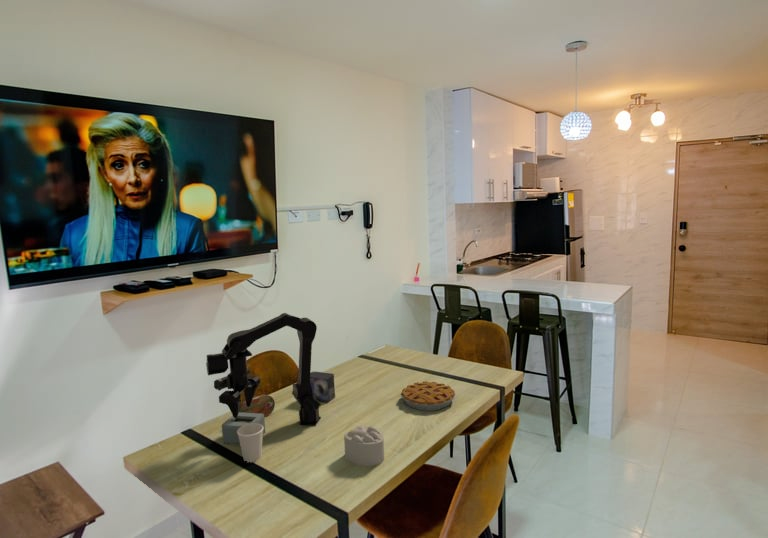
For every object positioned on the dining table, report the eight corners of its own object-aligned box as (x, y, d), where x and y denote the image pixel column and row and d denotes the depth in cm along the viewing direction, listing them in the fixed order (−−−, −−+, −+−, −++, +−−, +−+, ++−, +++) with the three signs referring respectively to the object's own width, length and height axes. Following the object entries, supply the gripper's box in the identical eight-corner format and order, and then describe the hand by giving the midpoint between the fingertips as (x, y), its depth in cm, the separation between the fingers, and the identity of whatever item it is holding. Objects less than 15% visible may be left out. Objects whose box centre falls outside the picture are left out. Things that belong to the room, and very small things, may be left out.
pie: (429, 418, 179) (428, 405, 178) (390, 401, 195) (389, 389, 194) (466, 400, 193) (466, 389, 192) (427, 386, 209) (426, 375, 208)
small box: (306, 400, 199) (304, 376, 198) (314, 394, 205) (312, 370, 204) (328, 403, 195) (326, 378, 194) (335, 396, 201) (334, 373, 200)
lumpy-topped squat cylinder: (362, 443, 161) (361, 419, 160) (392, 456, 153) (391, 430, 152) (340, 456, 154) (339, 431, 152) (370, 470, 145) (369, 444, 144)
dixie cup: (251, 467, 149) (249, 437, 148) (233, 460, 154) (231, 431, 152) (271, 454, 156) (268, 426, 155) (253, 448, 161) (251, 421, 159)
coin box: (265, 432, 172) (263, 413, 171) (252, 445, 163) (250, 426, 162) (237, 430, 175) (236, 412, 174) (223, 443, 165) (221, 424, 164)
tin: (240, 426, 177) (238, 405, 176) (236, 424, 180) (235, 402, 178) (275, 413, 188) (274, 393, 186) (271, 410, 190) (270, 390, 189)
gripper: (231, 359, 176) (234, 399, 178) (202, 378, 158) (206, 422, 160) (259, 360, 173) (262, 401, 175) (233, 379, 155) (236, 424, 157)
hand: (242, 411), depth 167 cm, fingers open, 9 cm apart
